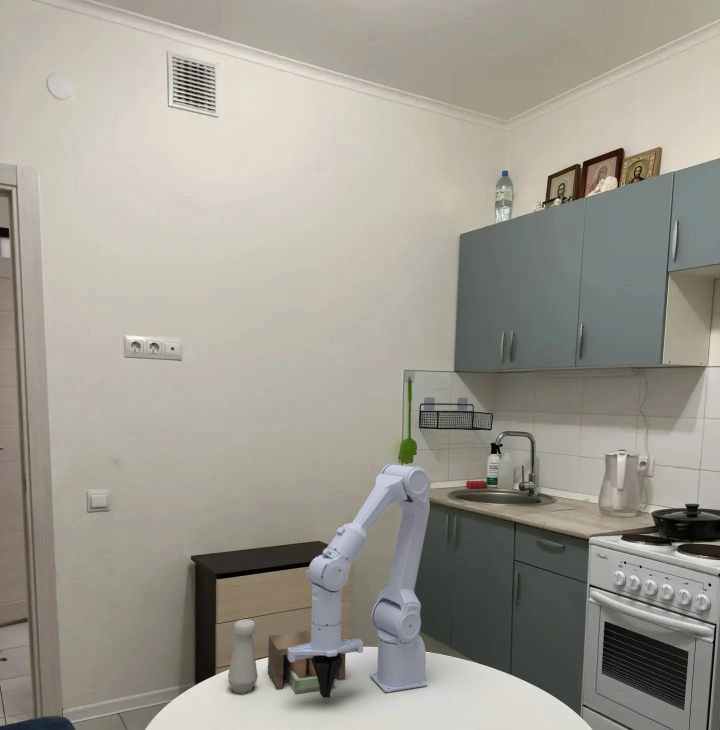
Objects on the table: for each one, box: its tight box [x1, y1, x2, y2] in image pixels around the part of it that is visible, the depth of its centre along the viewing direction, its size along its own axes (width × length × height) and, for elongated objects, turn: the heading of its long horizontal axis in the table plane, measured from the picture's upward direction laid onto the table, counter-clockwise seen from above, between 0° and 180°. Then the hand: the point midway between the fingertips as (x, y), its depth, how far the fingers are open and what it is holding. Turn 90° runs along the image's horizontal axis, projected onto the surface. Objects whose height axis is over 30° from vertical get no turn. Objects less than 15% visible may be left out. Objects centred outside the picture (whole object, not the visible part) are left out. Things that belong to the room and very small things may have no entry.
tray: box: [284, 658, 336, 695], centre depth 123 cm, size 8×9×5 cm
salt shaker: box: [227, 618, 258, 695], centre depth 120 cm, size 6×6×13 cm
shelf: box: [267, 630, 346, 691], centre depth 126 cm, size 14×8×8 cm, turn 111°
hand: (325, 695), depth 114 cm, fingers closed
